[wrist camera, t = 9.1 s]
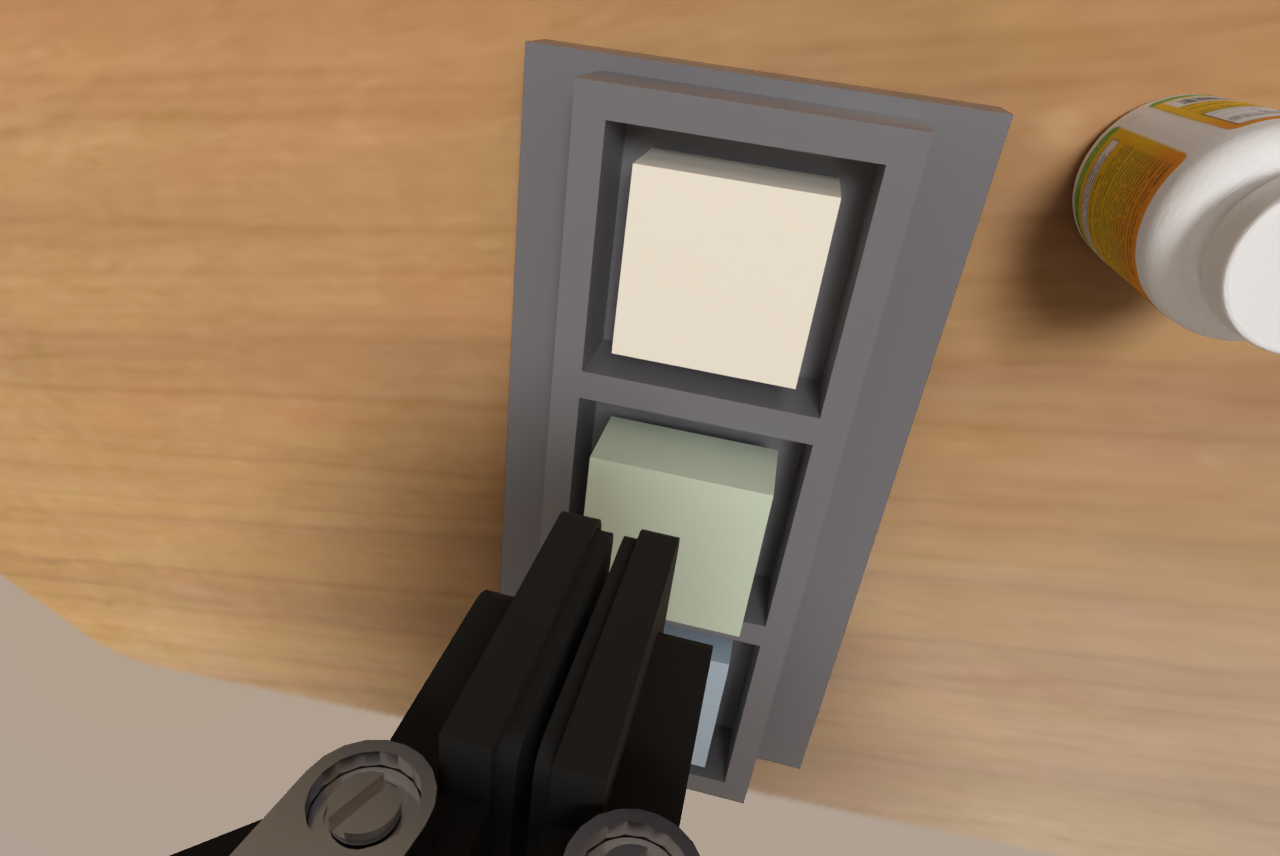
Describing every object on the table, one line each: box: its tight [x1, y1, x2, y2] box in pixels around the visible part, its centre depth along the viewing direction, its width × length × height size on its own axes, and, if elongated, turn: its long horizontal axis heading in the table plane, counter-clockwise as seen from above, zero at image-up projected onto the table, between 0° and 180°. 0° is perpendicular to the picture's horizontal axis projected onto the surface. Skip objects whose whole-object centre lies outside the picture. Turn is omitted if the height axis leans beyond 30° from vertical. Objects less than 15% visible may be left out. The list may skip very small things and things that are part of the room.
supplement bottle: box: [1072, 94, 1280, 354], centre depth 21 cm, size 5×5×10 cm
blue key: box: [663, 624, 733, 767], centre depth 34 cm, size 6×6×3 cm
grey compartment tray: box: [500, 39, 1013, 803], centre depth 31 cm, size 15×29×5 cm, turn 173°
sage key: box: [584, 416, 778, 637], centre depth 28 cm, size 6×6×3 cm
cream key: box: [612, 148, 841, 389], centre depth 25 cm, size 6×6×3 cm
